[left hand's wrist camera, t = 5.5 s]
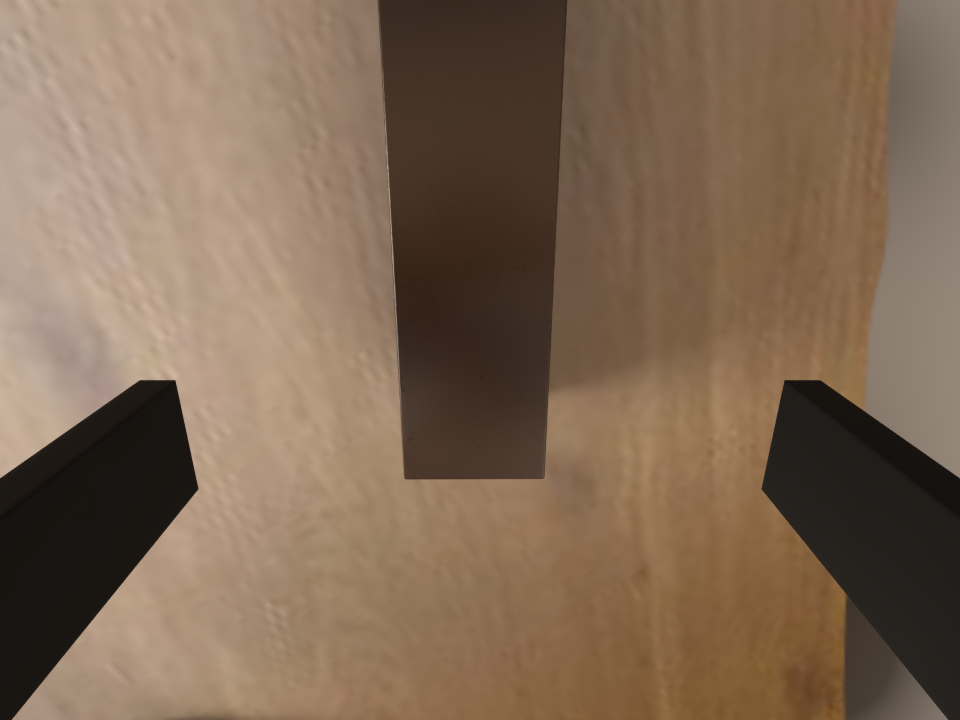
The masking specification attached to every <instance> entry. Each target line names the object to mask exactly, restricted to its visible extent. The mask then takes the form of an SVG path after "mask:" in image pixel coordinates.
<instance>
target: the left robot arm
mask: <svg viewBox="0 0 960 720" xmlns="http://www.w3.org/2000/svg"><path fill="white" fill-rule="evenodd" d="M197 490H198V485H197V480H196V475H195V471H194V466H193V461H192V456H191V452H190V447H189V442H188V438H187V433H186V428H185V423H184V419H183V414H182V409H181V405H180V400H179V395H178V390H177V386H176V381H175V380H140V381H138V382H137V383H135V384H134V385H132V386H131V387H130V388H128V389H127V390H125V391H124V392H123V393H121V394H120V395H118V396H117V397H115V398H114V399H113V400H111V401H110V402H108V403H107V404H105V405H104V406H103V407H101V408H100V409H98V410H97V411H95V412H94V413H93V414H91V415H90V416H88V417H87V418H85V419H84V420H83V421H81V422H80V423H78V424H77V425H76V426H74V427H73V428H71V429H70V430H68V431H67V432H66V433H64V434H63V435H61V436H60V437H58V438H57V439H56V440H54V441H53V442H51V443H50V444H48V445H47V446H46V447H44V448H43V449H41V450H40V451H38V452H37V453H36V454H34V455H33V456H31V457H30V458H29V459H27V460H26V461H24V462H23V463H21V464H20V465H19V466H17V467H16V468H14V469H13V470H11V471H10V472H9V473H7V474H6V475H4V476H3V477H1V478H0V720H12V719H13V717H14V716H15V715H16V714H17V713H18V711H19V710H20V709H21V708H22V706H23V705H24V704H25V703H26V701H27V700H28V699H29V698H30V696H31V695H32V694H33V693H34V692H35V690H36V689H37V688H38V687H39V685H40V684H41V683H42V682H43V680H44V679H45V678H46V677H47V675H48V674H49V673H50V672H51V671H52V669H53V668H54V667H55V666H56V664H57V663H58V662H59V661H60V659H61V658H62V657H63V656H64V654H65V653H66V652H67V651H68V650H69V648H70V647H71V646H72V645H73V643H74V642H75V641H76V640H77V638H78V637H79V636H80V635H81V633H82V632H83V631H84V630H85V629H86V627H87V626H88V625H89V624H90V622H91V621H92V620H93V619H94V617H95V616H96V615H97V614H98V613H99V611H100V610H101V609H102V608H103V606H104V605H105V604H106V603H107V601H108V600H109V599H110V598H111V596H112V595H113V594H114V593H115V592H116V590H117V589H118V588H119V587H120V585H121V584H122V583H123V582H124V580H125V579H126V578H127V577H128V575H129V574H130V573H131V572H132V571H133V569H134V568H135V567H136V566H137V564H138V563H139V562H140V561H141V559H142V558H143V557H144V556H145V554H146V553H147V552H148V551H149V550H150V548H151V547H152V546H153V545H154V543H155V542H156V541H157V540H158V538H159V537H160V536H161V535H162V533H163V532H164V531H165V530H166V529H167V527H168V526H169V525H170V524H171V522H172V521H173V520H174V519H175V517H176V516H177V515H178V514H179V512H180V511H181V510H182V509H183V508H184V506H185V505H186V504H187V503H188V501H189V500H190V499H191V498H192V496H193V495H194V494H195V493H196V491H197ZM762 490H763V491H764V493H765V494H766V495H767V496H768V498H769V499H770V500H771V501H772V503H773V504H774V505H775V506H776V508H777V509H778V510H779V511H780V512H781V514H782V515H783V516H784V517H785V519H786V520H787V521H788V522H789V524H790V525H791V526H792V527H793V529H794V530H795V531H796V532H797V533H798V535H799V536H800V537H801V538H802V540H803V541H804V542H805V543H806V545H807V546H808V547H809V548H810V550H811V551H812V552H813V553H814V554H815V556H816V557H817V558H818V559H819V561H820V562H821V563H822V564H823V566H824V567H825V568H826V569H827V571H828V572H829V573H830V574H831V575H832V577H833V578H834V579H835V580H836V582H837V583H838V584H839V585H840V587H841V588H842V589H843V590H844V592H845V593H846V594H847V595H848V596H849V598H850V599H851V600H852V601H853V603H854V604H855V605H856V606H857V608H858V609H859V610H860V611H861V613H862V614H863V615H864V616H865V617H866V619H867V620H868V621H869V622H870V624H871V625H872V626H873V627H874V629H875V630H876V631H877V632H878V633H879V635H880V636H881V637H882V638H883V640H884V641H885V642H886V643H887V645H888V646H889V647H890V648H891V650H892V651H893V652H894V653H895V654H896V656H897V657H898V658H899V659H900V661H901V662H902V663H903V664H904V666H905V667H906V668H907V669H908V671H909V672H910V673H911V674H912V675H913V677H914V678H915V679H916V680H917V682H918V683H919V684H920V685H921V687H922V688H923V689H924V690H925V692H926V693H927V694H928V695H929V696H930V698H931V699H932V700H933V701H934V703H935V704H936V705H937V706H938V708H939V709H940V710H941V711H942V713H943V714H944V715H945V716H946V717H947V719H948V720H960V478H959V477H957V476H956V475H954V474H953V473H951V472H950V471H949V470H947V469H946V468H944V467H943V466H941V465H940V464H939V463H937V462H936V461H934V460H933V459H931V458H930V457H929V456H927V455H926V454H924V453H923V452H922V451H920V450H919V449H917V448H916V447H914V446H913V445H912V444H910V443H909V442H907V441H906V440H904V439H903V438H902V437H900V436H899V435H897V434H896V433H894V432H893V431H891V430H890V429H889V428H887V427H886V426H884V425H883V424H882V423H880V422H879V421H877V420H876V419H875V418H873V417H872V416H870V415H869V414H867V413H866V412H865V411H863V410H862V409H860V408H859V407H857V406H856V405H855V404H853V403H852V402H850V401H849V400H847V399H846V398H845V397H843V396H842V395H840V394H839V393H837V392H836V391H835V390H833V389H832V388H830V387H829V386H828V385H826V384H825V383H823V382H822V381H820V380H785V381H784V386H783V390H782V395H781V400H780V405H779V409H778V414H777V419H776V423H775V428H774V433H773V438H772V442H771V447H770V452H769V456H768V461H767V466H766V471H765V475H764V480H763V485H762Z"/></svg>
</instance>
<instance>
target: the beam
mask: <svg viewBox="0 0 960 720" xmlns="http://www.w3.org/2000/svg"><path fill="white" fill-rule="evenodd" d="M566 11H567V0H378V12H379V31H380V49H381V67H382V85H383V103H384V121H385V139H386V157H387V175H388V194H389V212H390V230H391V248H392V266H393V284H394V302H395V320H396V338H397V356H398V375H399V393H400V411H401V429H402V447H403V465H404V478H405V479H544V475H545V454H546V433H547V412H548V391H549V370H550V349H551V327H552V306H553V285H554V264H555V243H556V222H557V201H558V180H559V159H560V138H561V117H562V96H563V75H564V53H565V32H566Z"/></svg>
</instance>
